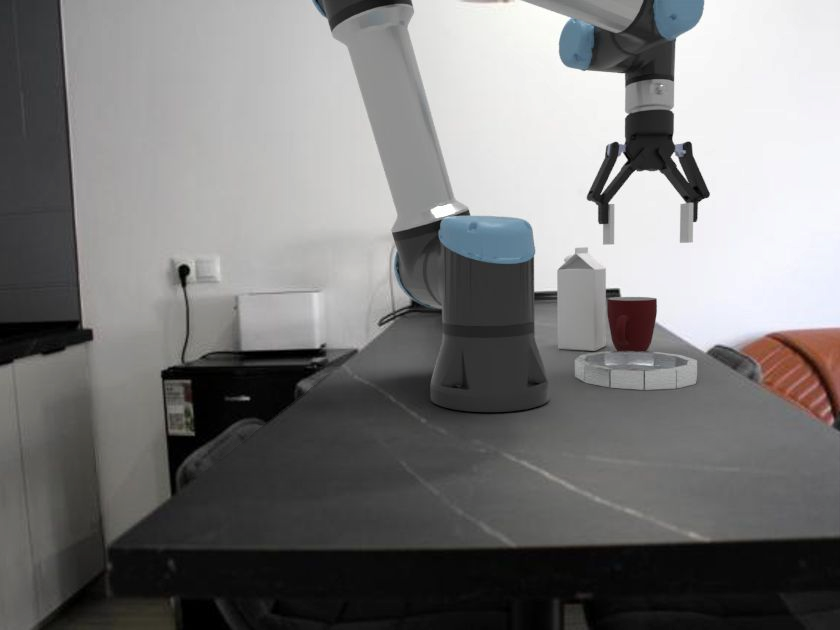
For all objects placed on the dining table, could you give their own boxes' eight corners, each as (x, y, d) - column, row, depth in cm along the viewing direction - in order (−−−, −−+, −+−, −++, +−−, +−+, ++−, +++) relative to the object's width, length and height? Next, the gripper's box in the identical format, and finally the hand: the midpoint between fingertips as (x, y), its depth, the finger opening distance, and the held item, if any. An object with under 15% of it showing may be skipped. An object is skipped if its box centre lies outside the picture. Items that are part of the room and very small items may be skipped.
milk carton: (606, 346, 119) (606, 246, 117) (594, 352, 113) (594, 247, 111) (569, 344, 122) (569, 247, 120) (557, 349, 116) (556, 248, 114)
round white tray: (599, 392, 81) (599, 373, 81) (562, 368, 98) (562, 353, 97) (720, 386, 82) (720, 368, 82) (663, 364, 99) (663, 349, 98)
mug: (650, 363, 100) (651, 302, 99) (599, 361, 104) (599, 301, 102) (659, 353, 109) (659, 297, 108) (612, 351, 113) (612, 296, 112)
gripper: (584, 107, 96) (584, 244, 98) (734, 107, 99) (731, 241, 101) (567, 117, 103) (567, 245, 105) (707, 117, 106) (705, 242, 108)
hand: (647, 243), depth 103 cm, fingers open, 13 cm apart
